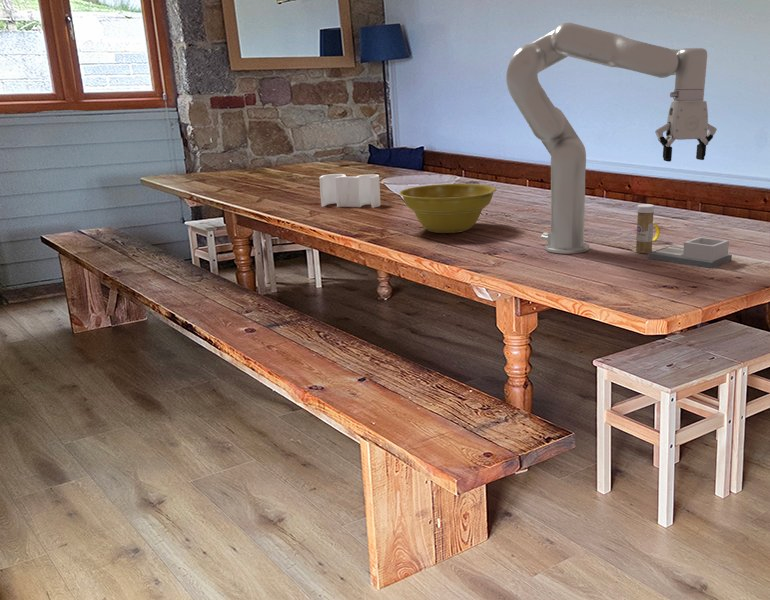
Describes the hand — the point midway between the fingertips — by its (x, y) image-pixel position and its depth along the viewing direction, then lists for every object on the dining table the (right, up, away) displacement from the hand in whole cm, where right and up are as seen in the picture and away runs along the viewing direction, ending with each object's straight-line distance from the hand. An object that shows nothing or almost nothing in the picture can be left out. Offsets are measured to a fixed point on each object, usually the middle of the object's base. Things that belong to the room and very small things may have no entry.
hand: (683, 160), depth 224 cm
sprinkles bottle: (-9, -25, +7) cm, 27 cm away
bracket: (-96, 0, +107) cm, 144 cm away
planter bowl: (-61, -15, +50) cm, 80 cm away
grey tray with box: (0, -27, -4) cm, 28 cm away
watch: (-3, -21, +19) cm, 29 cm away
